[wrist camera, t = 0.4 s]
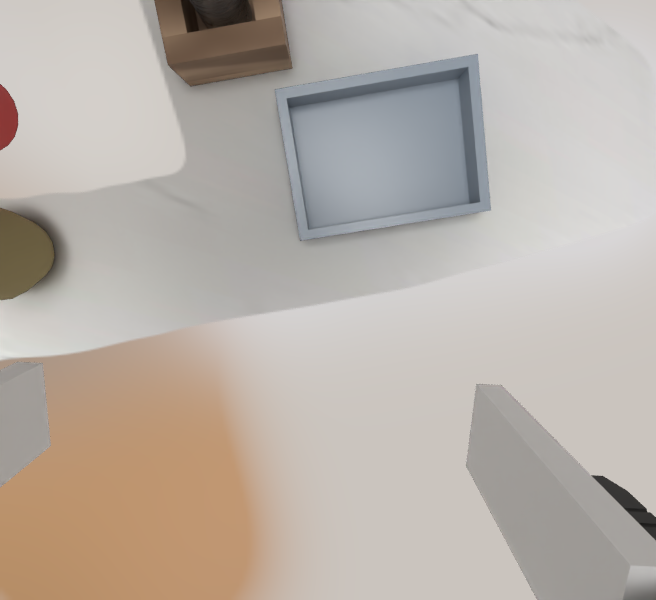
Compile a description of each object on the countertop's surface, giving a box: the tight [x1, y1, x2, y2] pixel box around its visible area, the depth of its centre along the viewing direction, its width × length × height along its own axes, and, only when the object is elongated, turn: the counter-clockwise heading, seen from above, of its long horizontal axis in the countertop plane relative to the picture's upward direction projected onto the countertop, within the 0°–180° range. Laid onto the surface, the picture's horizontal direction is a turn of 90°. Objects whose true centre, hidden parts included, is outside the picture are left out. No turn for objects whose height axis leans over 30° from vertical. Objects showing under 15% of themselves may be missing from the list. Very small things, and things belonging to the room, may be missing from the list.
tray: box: [275, 54, 491, 241], centre depth 35 cm, size 12×16×4 cm
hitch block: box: [154, 0, 292, 86], centre depth 33 cm, size 9×9×5 cm
